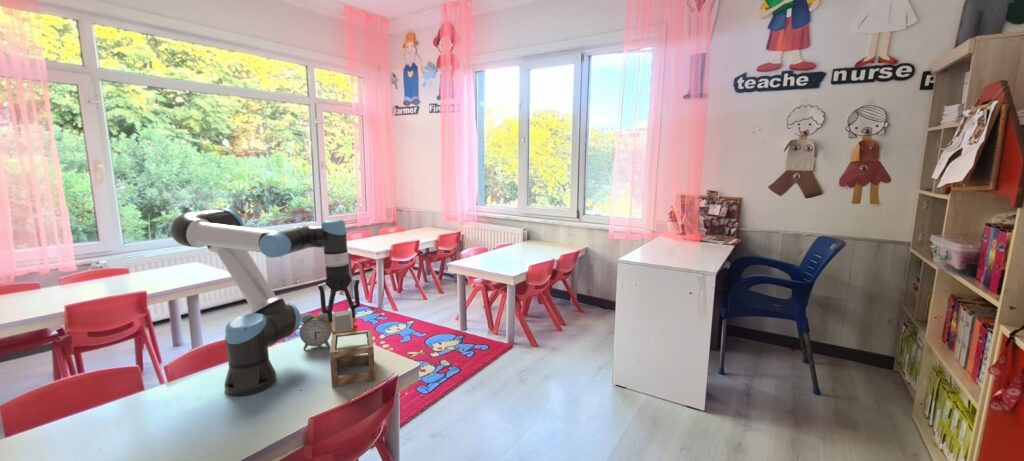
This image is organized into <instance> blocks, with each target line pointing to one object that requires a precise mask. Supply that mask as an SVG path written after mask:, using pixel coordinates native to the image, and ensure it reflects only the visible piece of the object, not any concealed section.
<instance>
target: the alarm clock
mask: <svg viewBox="0 0 1024 461" xmlns="http://www.w3.org/2000/svg"><path fill="white" fill-rule="evenodd" d="M300 323H302V325H300V326H301V327H299V328H300V329H299V337H300V339H301V341H302V342H303V344H304V346H303V350H304V351H305V350H306V349H307V348H308V347H309V346H310V347H320V346H323V345H325V346H327V347H328V348H330V346H331V344H330V343H329V339H331V336H332V332H331V330H330V323H329V321H328V314H327V313H323V312H322V311H320V312H318V313H316V314H315V315H314V314H312V313H310V312H306V313H303V314H302V315H301V322H300Z"/></svg>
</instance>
